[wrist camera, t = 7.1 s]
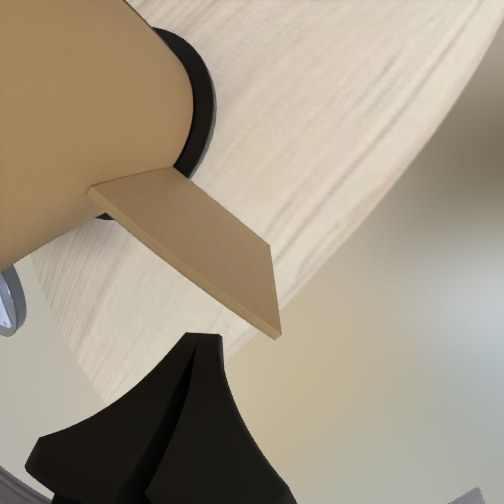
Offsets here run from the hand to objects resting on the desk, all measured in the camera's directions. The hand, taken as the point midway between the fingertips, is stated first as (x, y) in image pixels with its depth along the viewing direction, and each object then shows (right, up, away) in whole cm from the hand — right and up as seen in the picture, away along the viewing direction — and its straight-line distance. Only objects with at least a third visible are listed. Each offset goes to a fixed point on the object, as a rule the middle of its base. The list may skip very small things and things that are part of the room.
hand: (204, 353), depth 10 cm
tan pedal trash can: (-4, +9, +3) cm, 10 cm away
